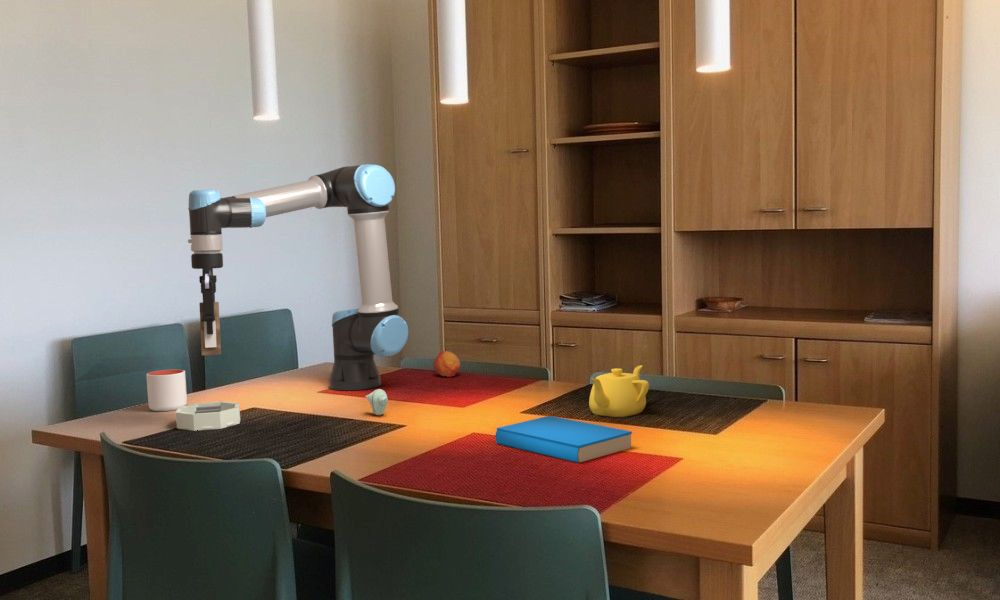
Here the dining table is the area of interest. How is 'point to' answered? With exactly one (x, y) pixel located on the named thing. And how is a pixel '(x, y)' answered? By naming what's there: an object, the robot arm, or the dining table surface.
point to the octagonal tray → (208, 416)
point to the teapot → (618, 393)
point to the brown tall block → (216, 349)
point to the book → (564, 438)
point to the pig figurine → (378, 401)
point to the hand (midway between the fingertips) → (211, 346)
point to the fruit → (447, 364)
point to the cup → (166, 389)
